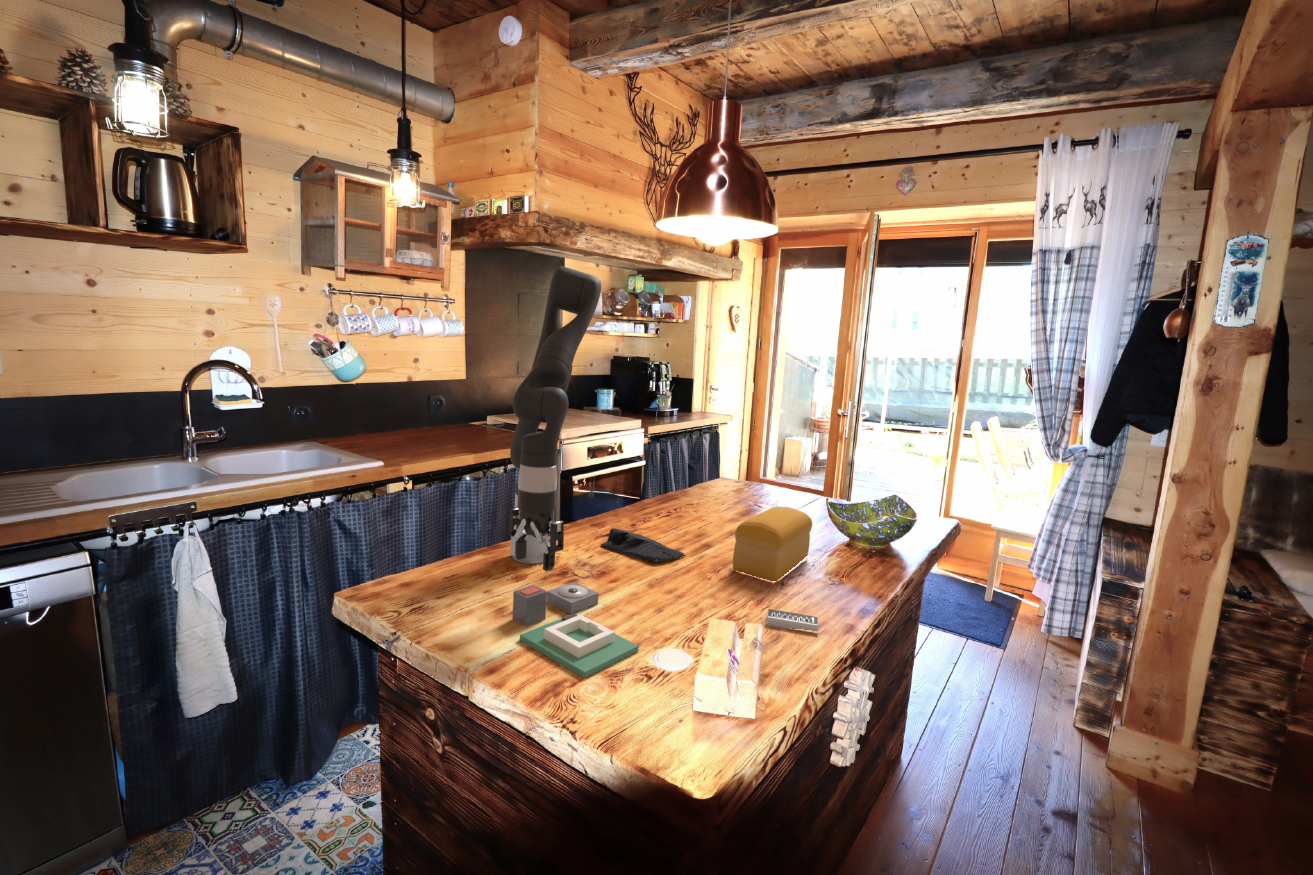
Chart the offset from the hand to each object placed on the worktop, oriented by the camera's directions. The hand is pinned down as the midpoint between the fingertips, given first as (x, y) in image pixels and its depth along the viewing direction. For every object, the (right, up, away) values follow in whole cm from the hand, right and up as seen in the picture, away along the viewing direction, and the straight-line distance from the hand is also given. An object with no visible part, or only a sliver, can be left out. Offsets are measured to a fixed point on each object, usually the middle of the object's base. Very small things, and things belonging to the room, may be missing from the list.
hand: (534, 564), depth 126 cm
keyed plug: (-1, -12, +2) cm, 12 cm away
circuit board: (+10, -14, -7) cm, 19 cm away
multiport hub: (+54, -16, +9) cm, 57 cm away
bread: (+56, -10, +45) cm, 73 cm away
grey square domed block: (+6, -11, +11) cm, 17 cm away
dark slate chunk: (+21, -7, +48) cm, 53 cm away
